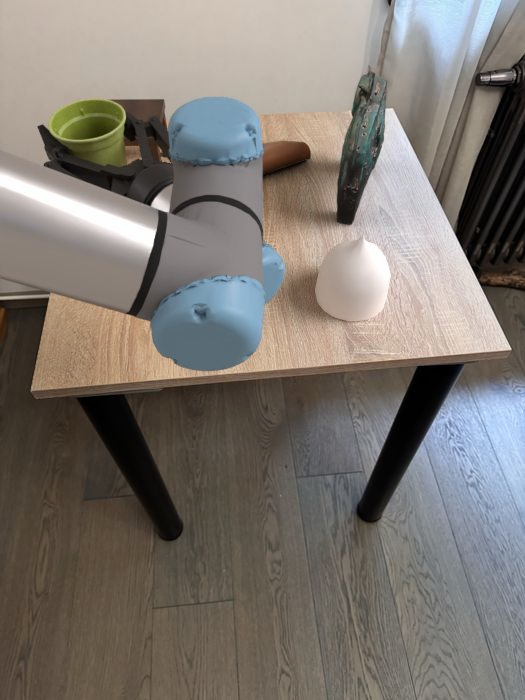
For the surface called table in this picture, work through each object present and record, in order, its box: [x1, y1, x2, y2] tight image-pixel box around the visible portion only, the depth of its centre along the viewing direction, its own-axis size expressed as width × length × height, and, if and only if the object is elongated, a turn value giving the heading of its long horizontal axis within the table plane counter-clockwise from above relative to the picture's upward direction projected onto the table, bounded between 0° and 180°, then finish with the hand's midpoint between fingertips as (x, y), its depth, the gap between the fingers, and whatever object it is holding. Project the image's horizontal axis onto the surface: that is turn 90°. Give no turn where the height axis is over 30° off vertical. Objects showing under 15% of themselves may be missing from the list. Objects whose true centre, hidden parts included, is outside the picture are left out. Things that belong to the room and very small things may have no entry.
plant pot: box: [47, 97, 128, 167], centre depth 66 cm, size 9×9×9 cm
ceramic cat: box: [335, 65, 388, 225], centre depth 84 cm, size 20×6×20 cm, turn 164°
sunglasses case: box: [262, 139, 312, 176], centre depth 95 cm, size 18×7×7 cm
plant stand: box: [107, 98, 168, 162], centre depth 92 cm, size 12×12×10 cm
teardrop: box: [314, 234, 392, 323], centre depth 73 cm, size 11×11×12 cm
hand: (75, 122), depth 66 cm, fingers closed on plant pot, 8 cm apart
